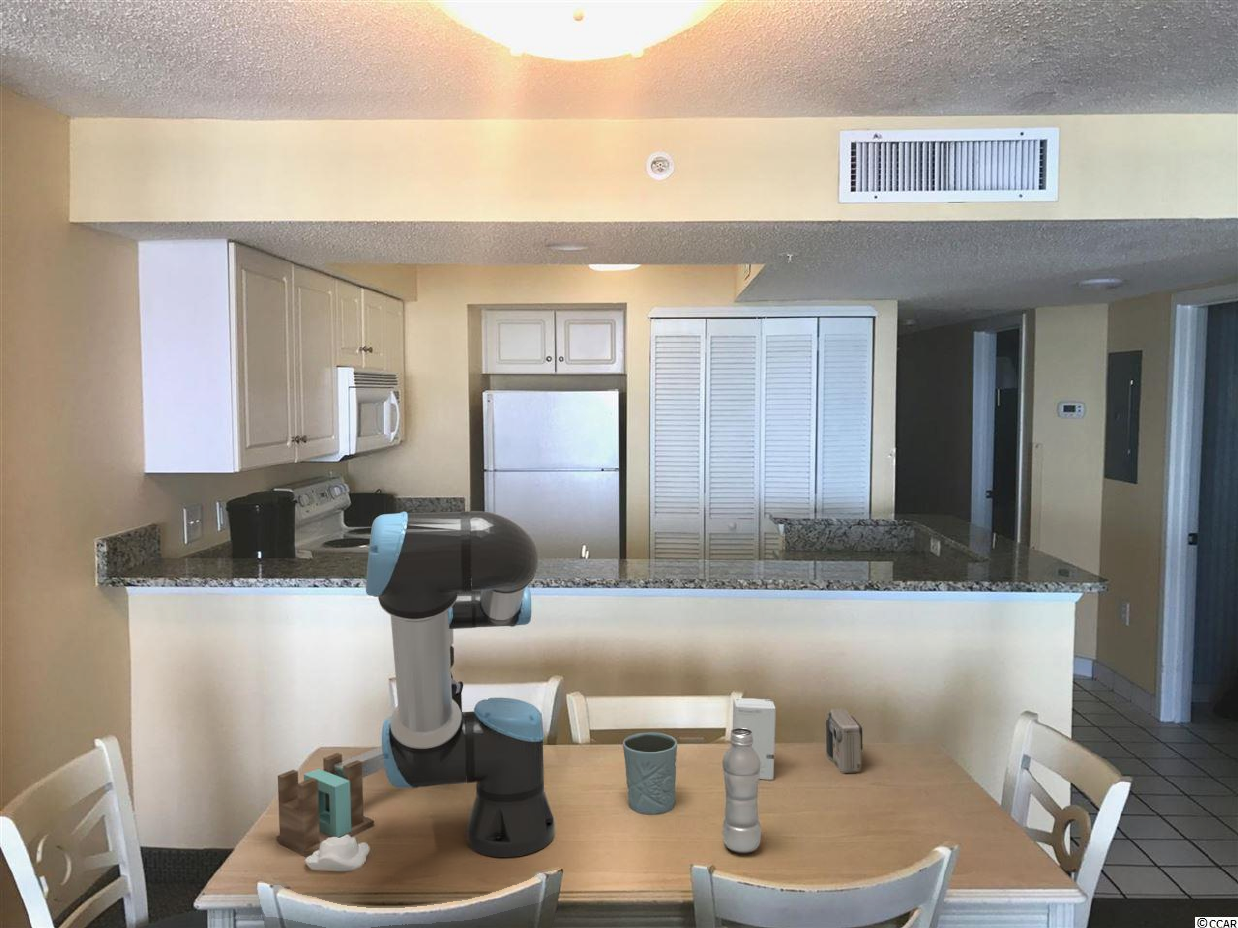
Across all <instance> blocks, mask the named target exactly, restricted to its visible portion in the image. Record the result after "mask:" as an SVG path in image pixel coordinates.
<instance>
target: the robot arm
mask: <svg viewBox="0 0 1238 928" xmlns="http://www.w3.org/2000/svg"><path fill="white" fill-rule="evenodd" d="M370 530H371V531H370V538H369V547H368V556H367V557H368V558H367V566H366V567H367V569H366V580H365V593H366V595H368V596H369V597H371V596H372V597H374V598H377V599H378V603H379V605H380V607H381V609H382V610H384V612H385V613H387V614H388V615H390V623H391V636H392V649H393V662H394V673H395V684H396V686H395V687H396V694H397V695H396V697H397V706H396V707H395V708H394V710H393V711H392V713H391V716H390V717H387V718H386V719H385V720H384V721H383V724H382V731H381V746H382V751H383V762H384V768H385V769H384V772H385V775H386V777H387V780H388V781H389V783H390V785H392V786H393V787H395V788H399V789H401V788H402V789H403V788H409V789H418V788H424V787H425V788H426V787H436V786H447V785H448V786H449V785H457V784H467V783H468V784H471V783H475V784H476V786H475V787H476V788H475V789H476V791H475V792H476V794H475V798H474V802H473V804H472V805H473V806H472V808H471V812H470V815H469V818H468V821H467V826H466V841H467V844H468V845H469V847H470V848H471V849H472V850H474V851H475V852H477V853H479V854H482V855H485V856H489V857H494V858H496V857H498V858H517V857H521V856H526V855H531V854H533V853H536V852H539V851H540V850H542V849H544V848H545V847H547V846H548V845H549V844H550V843H551V842H552V841H553V839H554V837H555V834H556V833H555V831H556V829H555V824H556V823H555V818H554V814H553V811H552V809H551V807H550V803H549V800H548V798H547V794H546V791H545V781H544V780H545V776H544V775H545V771H544V769H545V768H544V739H545V732H544V725H543V724H544V723H543V716H542V713H541V711H540V710H539V709H538V708H537V706H535V705H534V704H532V703H530V702H527V701H524V700H521V699H517V698H510V697H489V698H487V699H481V700H479V701H477V703H476V704H475V706H474V707H473V711H463V701H462V700H463V699H462V693H463V689H464V683H463V681H461V680H460V681H458V682H457V681H456V680H455V679H454V676H453V673H452V668H453V666H454V664H455V647H453V644H454V630H458V629H459V630H460V629H462V630H463V629H472V628H473V629H474V628H475V629H476V628H495V627H496V628H497V627H511V628H513V627H516V626H525V625H528V624H530V622H531V620H532V593H531V590H530V587H529V584H530V583H532V580H534V577H535V575H536V574H537V569H538V565H539V553H538V550H537V546H536V544H535V542H534V540H533V539H532V538H531V535H530V534H528V533H527V532H526V530H524V529H523V528H522V527H521V526H520V525H518V524H517V523H515V522H514V521H512V520H510V519H509V518H506V517H504V516H502V515H499V514H496V513H493V512H489V511H481V510H469V511H442V512H415V513H414V512H413V513H411V512H410V513H407V511H400V513H386V514H385V513H384V514H380V515H379V516H377V517H376V518H375V519H374V520H373V522H372V525H371V529H370Z"/></svg>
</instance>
